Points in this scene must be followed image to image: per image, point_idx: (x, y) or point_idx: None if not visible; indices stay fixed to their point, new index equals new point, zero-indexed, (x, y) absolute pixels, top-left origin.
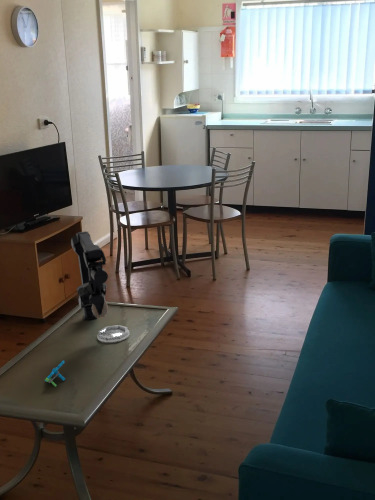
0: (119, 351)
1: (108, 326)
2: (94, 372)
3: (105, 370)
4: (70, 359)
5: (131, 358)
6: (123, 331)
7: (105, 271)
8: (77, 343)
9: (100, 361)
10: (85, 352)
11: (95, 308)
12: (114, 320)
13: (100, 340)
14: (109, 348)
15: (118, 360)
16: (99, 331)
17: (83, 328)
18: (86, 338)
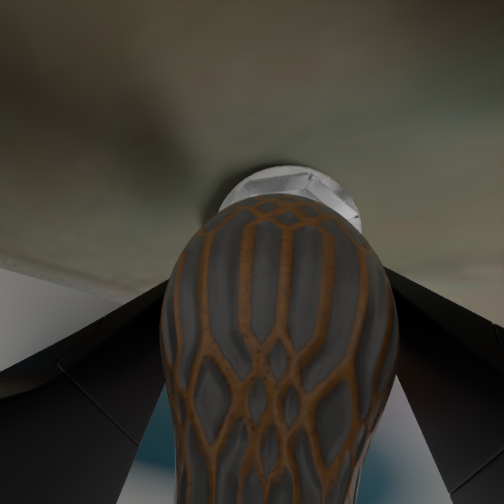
0: (156, 266)
1: (354, 222)
2: (7, 205)
3: (34, 237)
4: (39, 62)
5: (122, 296)
6: None
7: None
8: (218, 43)
9: (76, 214)
10: (124, 134)
11: (166, 288)
12: (490, 225)
13: (231, 191)
14: (173, 233)
15: (101, 266)
16: (298, 181)
17: (479, 9)
18: (282, 94)
